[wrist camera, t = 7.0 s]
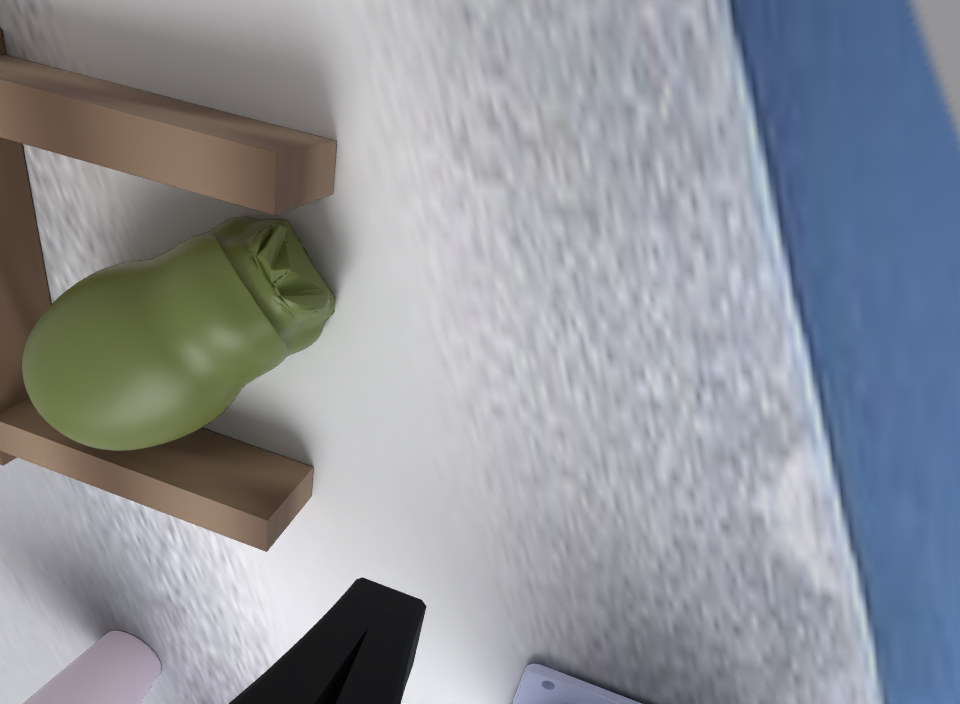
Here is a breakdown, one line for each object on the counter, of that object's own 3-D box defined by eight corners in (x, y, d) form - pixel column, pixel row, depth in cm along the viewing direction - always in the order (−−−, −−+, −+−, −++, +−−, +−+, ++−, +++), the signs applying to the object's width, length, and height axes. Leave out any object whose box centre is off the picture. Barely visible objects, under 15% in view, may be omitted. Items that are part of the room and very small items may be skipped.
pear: (-66, 355, 16) (199, 176, 13) (81, 304, 21) (295, 167, 18) (67, 509, 17) (330, 376, 15) (175, 427, 22) (386, 317, 19)
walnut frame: (338, 112, 16) (276, 119, 13) (310, 510, 23) (266, 566, 20) (-40, 17, 17) (-162, 6, 15) (43, 413, 24) (-29, 453, 22)
